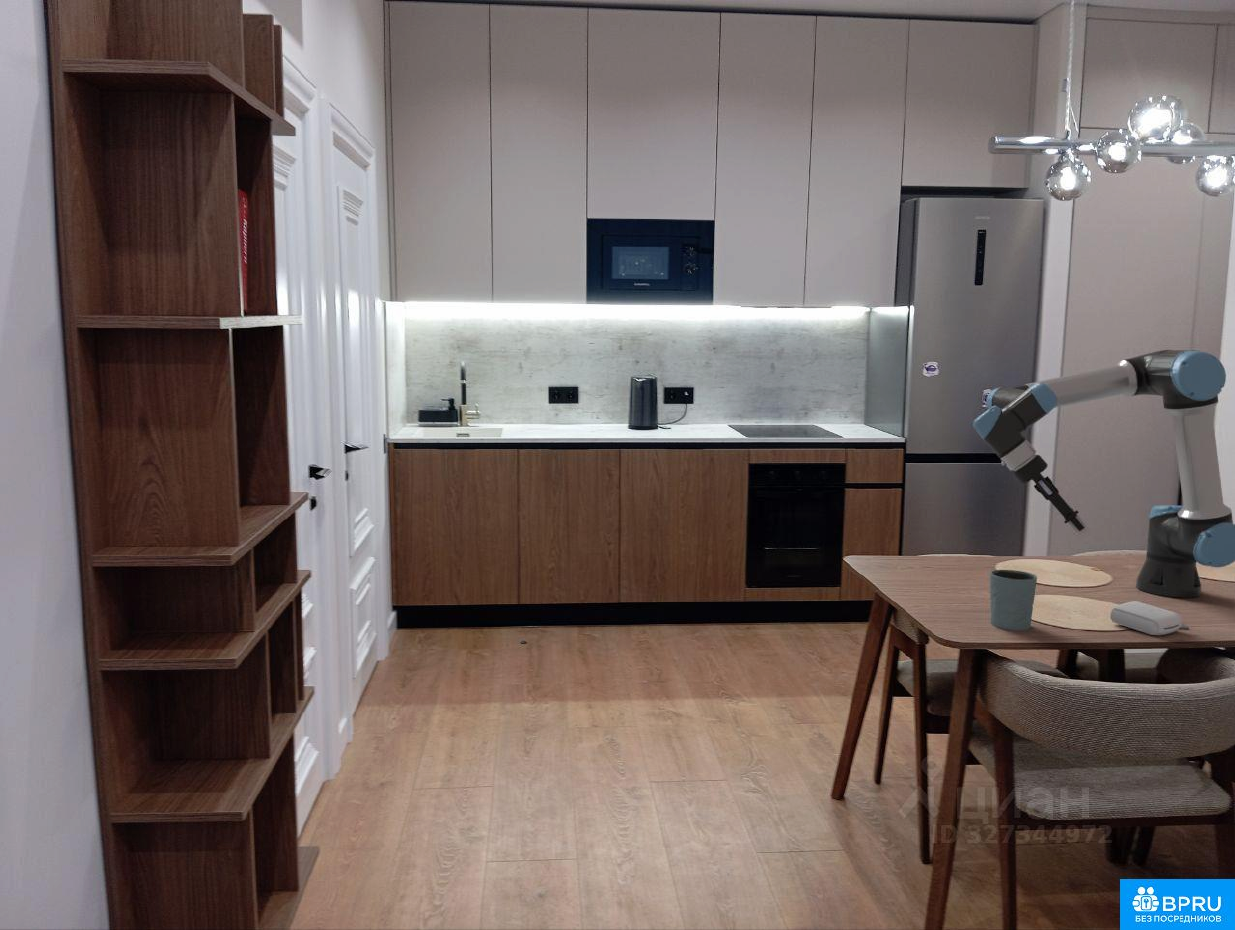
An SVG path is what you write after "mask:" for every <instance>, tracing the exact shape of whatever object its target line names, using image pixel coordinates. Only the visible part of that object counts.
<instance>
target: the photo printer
mask: <svg viewBox="0 0 1235 930" xmlns="http://www.w3.org/2000/svg"><path fill="white" fill-rule="evenodd" d="M1109 617H1110V620H1111V622H1112V623H1114V624H1117V625H1121V626H1123V627H1127V628H1129V629H1133V630H1135V631H1139V632H1142V633H1144V634H1148V635H1151V636H1163V635H1168V634H1171V633H1174V632H1177V631H1178V630H1179V628H1180V627H1181V625H1182V624H1183V618H1182V617H1181V615H1180V614H1179V613H1177V612H1175V611H1172V610H1167V609H1164V608H1161V607H1158V606H1155V605H1152V604H1148V603H1144V602H1141V601H1137V600H1132V601H1128V602H1124V603H1121V604H1119V605H1114V607H1112V609H1111V611H1110V616H1109Z"/></svg>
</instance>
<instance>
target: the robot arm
mask: <svg viewBox="0 0 1235 930" xmlns="http://www.w3.org/2000/svg"><path fill="white" fill-rule="evenodd" d="M1226 378H1227V373H1226V369H1225V367H1224V365H1223V363H1222V362H1221V361H1220V359H1218V357H1217V356H1215V355H1213V354H1211V353H1209V352H1206V351H1200V350H1195V349H1191V350H1190V349H1188V350H1187V349H1185V350H1184V349H1183V350H1182V349H1181V350H1179V349H1177V350H1176V349H1174V350H1173V349H1164V350H1157V351H1153V352H1148V353H1145V354H1142V355H1138V356H1135V357H1134V356H1133V357H1131V358H1126V359H1122V360H1119V361H1117V363H1116V365H1113V366H1107V367H1101V368H1098V369H1093V370H1088V371H1084V372H1083V371H1081V372H1077V373H1075V374H1074V373H1073V374H1068V375H1064V376H1058V377H1055V378H1049V379H1044V380H1039V381H1035V382H1031V383H1025V384H1021V385H1016V386H1011V387H1006V386H1003V387H996V388H994V389H992V390H991V391H990V392H989V393H988V395H987V397H986V407H987V410H986V411H984V412H983V413H982V414H980V415H978V416H977V418H975V419H974V420H973V422H972V426H973V428H974V429H975V431H976V432H977V433H978V435H979V436H980V438H981V439H982V440H983V441H984V443H985V444H987V446H989V448H991V450H992V451H993V452H994V453H995V454H996V456H998V458H999V459H1000V461H1001V464H1000V465H1001V466H1005V465H1006V468H1008V470H1009V471H1013V472H1012V473H1013V476H1014V477H1015V478H1016V479H1017V481H1018V482H1019V483H1020V484H1022V485H1025V484H1027V483H1029V482H1030V481H1033V483H1034V484H1035V485H1033V487H1034V489H1035V490H1036V491H1037V492H1038V493H1040V494H1041V495H1042V497H1043V498H1044V499H1045V500H1046V501H1049V502H1050V503H1051V504H1052V505H1053V506H1054V508H1055V509H1056V510H1057V511H1058V512H1059V514H1060V515H1062V517H1063V518H1064V521H1063V523H1065V524H1069V525H1070V527H1072V528H1073V530H1074V531H1075V532H1076V534H1078V536H1079V537H1080V538H1081V539H1082V541H1083V542H1084V543H1085V544H1088V543H1090V542H1091V541H1093V540H1095V538H1096V537H1097V536H1096V534H1095V533H1094V532H1093V531H1092V530H1091V528H1090V527H1089V526H1088V525H1087V524H1086V523H1085V522H1084V521H1083V519H1082V518H1081V517H1080V515H1078V514H1079V513H1080V512H1079V511H1078V510H1075V511H1074V509H1073V508H1072V507H1071V506H1070V505H1069V504H1068V503H1067V501H1066V500H1065V499H1064V498H1063V496H1062V495H1060V491H1059V490H1058V488H1057V487H1056V485H1054V483H1053V481H1052V479H1051V478H1050V477H1049V476H1043V474H1042V473H1043V472H1044V471H1045V470H1046V469H1047V468H1048V465H1049V464H1048V463H1047V462H1046V461H1045V460H1044V459H1043V457H1042V456H1041V455H1040V454H1036V453H1037V450H1036V449H1035V448H1034V447H1033V445H1032V444H1031V443H1030V442H1029V440H1027V439H1026V438H1025V436H1024V435H1023V434H1022V433H1024V432H1025V431H1027V430H1028V429H1029V428H1030V427H1032V426H1034V424H1036V423H1037V422H1038V421H1040V420H1041V419H1042V418H1044V417H1045V416H1047V415H1049V413H1050V412H1051V411H1052V410H1054V409H1056V408H1060V407H1061V408H1062V407H1065V406H1071V405H1075V404H1081V403H1084V402H1085V403H1086V402H1090V401H1095V400H1100V399H1105V398H1109V397H1114V396H1120V395H1123V396H1125V397H1126V398H1127V397H1128V398H1129V397H1134V396H1141V395H1142V396H1143V395H1145V396H1160V397H1161V396H1162V404H1163V410H1164V411H1167V412H1169V414H1171V419H1172V425H1173V433H1174V434H1173V435H1174V441H1175V451H1176V456H1177V457H1176V458H1177V465H1178V472H1179V480H1180V488H1181V497H1182V505H1174V504H1173V505H1169V504H1168V505H1163V504H1162V505H1160V504H1159V505H1158V504H1157V505H1154V506H1153V507H1152V508H1151V510H1150V513H1149V514H1150V515H1149V518H1148V522H1149V523H1148V533H1147V544H1146V545H1147V547H1146V554H1145V555H1146V556H1145V561H1144V563H1143V565H1142V567H1141V569H1140V571H1139V572H1138V575H1137V578H1136V583H1135V584H1136V585H1135V587H1136V588H1137V589H1138V590H1140V591H1142V592H1146V593H1149V594H1153V595H1158V596H1164V597H1172V598H1185V599H1187V598H1196V597H1200V596H1201V595H1202V583H1201V579H1200V575H1199V572H1198V568H1197V563H1198V564H1200V565H1201V566H1206V567H1211V568H1223V567H1224V568H1225V567H1227V566H1230V565H1231V564H1233V563H1235V523H1234V520H1233V512H1232V509H1231V508H1230V507H1229V506H1227V505H1226V504H1224V499H1223V490H1222V480H1221V472H1220V465H1219V456H1218V448H1217V442H1216V441H1217V440H1216V439H1217V438H1216V430H1215V424H1214V417H1213V416H1214V415H1213V414H1214V413H1213V409H1214V408H1215V407H1216V406H1217V404H1218V403H1219V396H1218V395H1220V393H1221V392H1222V391H1223V390H1222V389H1223V388H1224V387H1225V384H1226Z"/></svg>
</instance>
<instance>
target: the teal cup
mask: <svg viewBox="0 0 1235 930" xmlns="http://www.w3.org/2000/svg"><path fill="white" fill-rule="evenodd" d="M1037 581H1038V576H1037V575H1036V574H1034V573H1031V572H1028V571H1027V572H1026V571H1023V570H1016V569H1014V570H1013V569H993V570H992V571H990V572H989V584H990V585H989V587H990V588H989V594H990V595H989V596H990V597H989V599H990V603H989V604H990V606H989V607H990V608H989V611H990V625H992V626H993V627H996V628H999V629H1002V630H1007V631H1015V632H1016V631H1018V632H1019V631H1021V632H1022V631H1028V630H1030V629H1031V626H1032V625H1031V624H1032V618H1033V617H1032V616H1033V611H1034V607H1033V606H1034V603H1035V597H1036V596H1035V594H1036V587H1037Z"/></svg>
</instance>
